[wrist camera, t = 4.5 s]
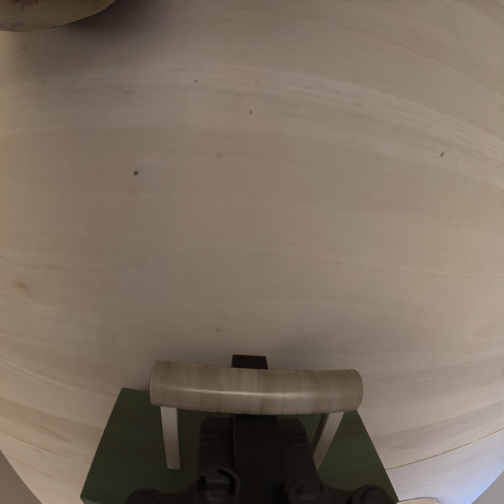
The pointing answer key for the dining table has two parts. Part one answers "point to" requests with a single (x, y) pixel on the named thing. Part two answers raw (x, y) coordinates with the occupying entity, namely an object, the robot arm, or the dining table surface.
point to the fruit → (46, 13)
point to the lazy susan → (420, 501)
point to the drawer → (220, 405)
